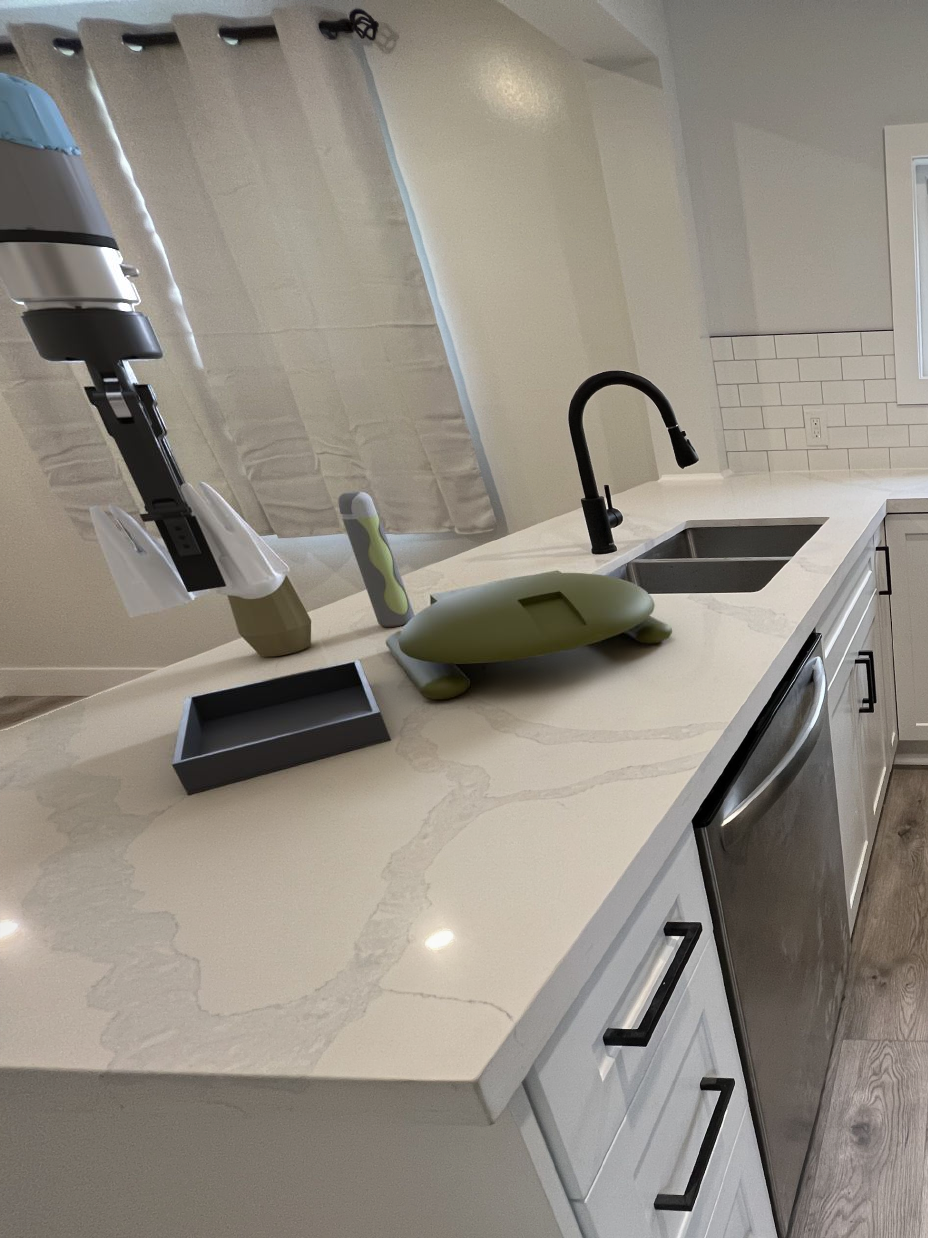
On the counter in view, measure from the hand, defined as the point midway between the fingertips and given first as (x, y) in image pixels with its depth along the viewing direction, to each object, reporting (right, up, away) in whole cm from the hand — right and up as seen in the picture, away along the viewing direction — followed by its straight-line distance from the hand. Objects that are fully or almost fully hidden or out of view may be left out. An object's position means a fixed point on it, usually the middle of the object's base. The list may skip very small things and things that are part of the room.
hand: (207, 582), depth 72 cm
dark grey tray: (-1, -15, +11) cm, 18 cm away
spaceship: (+14, -4, +32) cm, 36 cm away
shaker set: (0, -2, +1) cm, 2 cm away
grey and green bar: (-15, +1, +46) cm, 48 cm away
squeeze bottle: (-24, -4, +36) cm, 43 cm away
